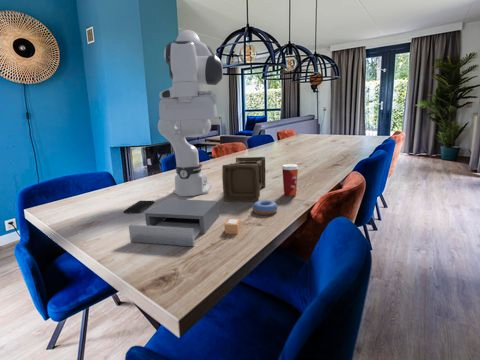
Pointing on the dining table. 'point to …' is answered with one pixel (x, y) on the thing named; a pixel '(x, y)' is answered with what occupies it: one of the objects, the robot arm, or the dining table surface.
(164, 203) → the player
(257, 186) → the ornamental box
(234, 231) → the block
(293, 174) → the paper cup
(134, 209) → the phone
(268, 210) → the doughnut
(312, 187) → the dining table surface
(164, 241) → the tray
